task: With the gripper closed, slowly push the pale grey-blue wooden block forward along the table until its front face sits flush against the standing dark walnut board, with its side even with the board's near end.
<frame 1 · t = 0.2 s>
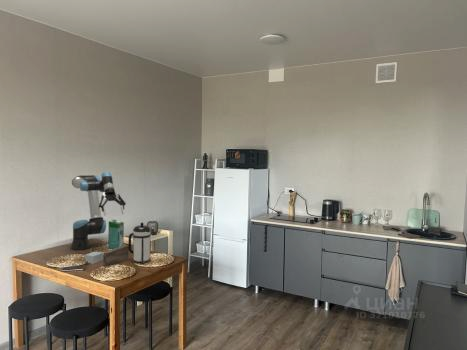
hand: (114, 214, 267), 35 cm above the table, tool tilted 35°, fingers open, 13 cm apart
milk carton: (116, 250, 296), on the table
block: (94, 261, 264), on the table
coffee press: (139, 261, 266), on the table
board: (116, 262, 263), on the table
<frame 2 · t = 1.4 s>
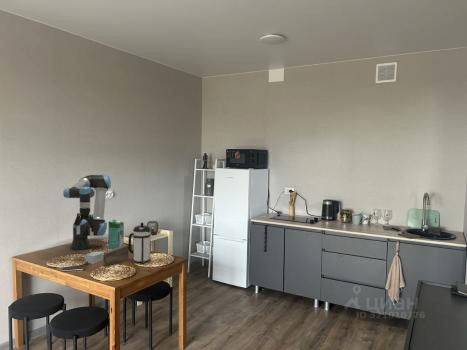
hand: (84, 235, 267), 19 cm above the table, tool pointing down, fingers open, 13 cm apart
nothing on the table moved.
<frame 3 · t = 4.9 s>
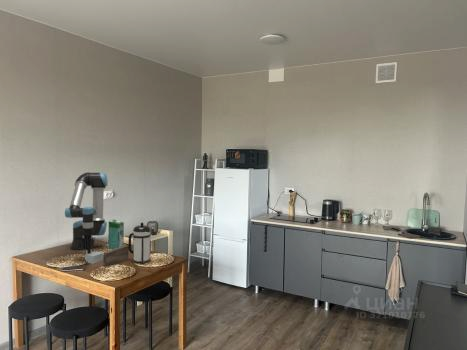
hand: (87, 258, 266), 2 cm above the table, tool pointing down, fingers closed
block: (94, 261, 264), on the table, touching gripper
everything else where it was.
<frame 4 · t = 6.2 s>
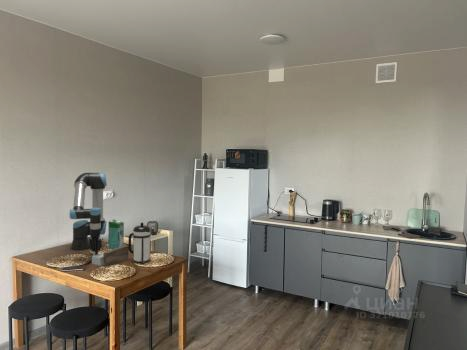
hand: (95, 259, 263), 2 cm above the table, tool pointing down, fingers closed
block: (101, 263, 260), on the table, touching gripper
everything else where it was.
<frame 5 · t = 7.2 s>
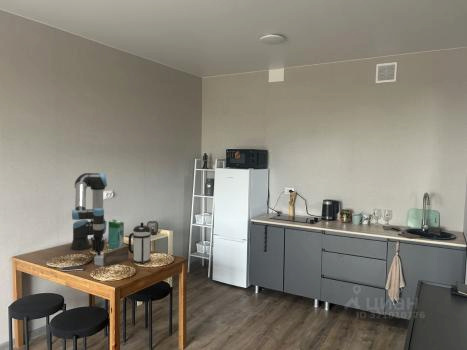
hand: (97, 260, 262), 1 cm above the table, tool pointing down, fingers closed
block: (103, 263, 259), on the table, touching board, gripper
everything else where it was.
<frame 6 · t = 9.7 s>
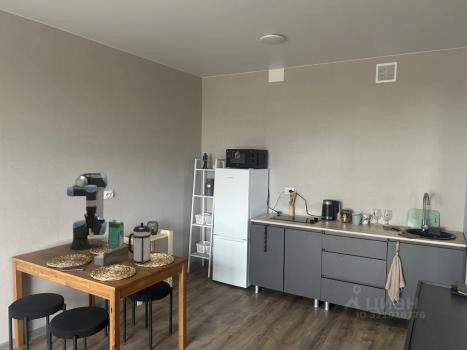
hand: (91, 236, 264), 18 cm above the table, tool pointing down, fingers closed
block: (103, 263, 259), on the table
everything else where it was.
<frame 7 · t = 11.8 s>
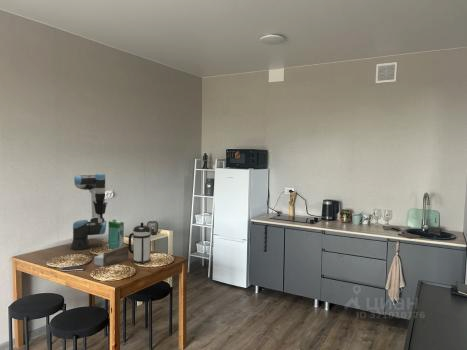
hand: (100, 222, 278), 26 cm above the table, tool pointing down, fingers closed
nothing on the table moved.
at the end: block 0.9 cm from the target spot on the table beside the board, on the table; block tilted 0° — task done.
